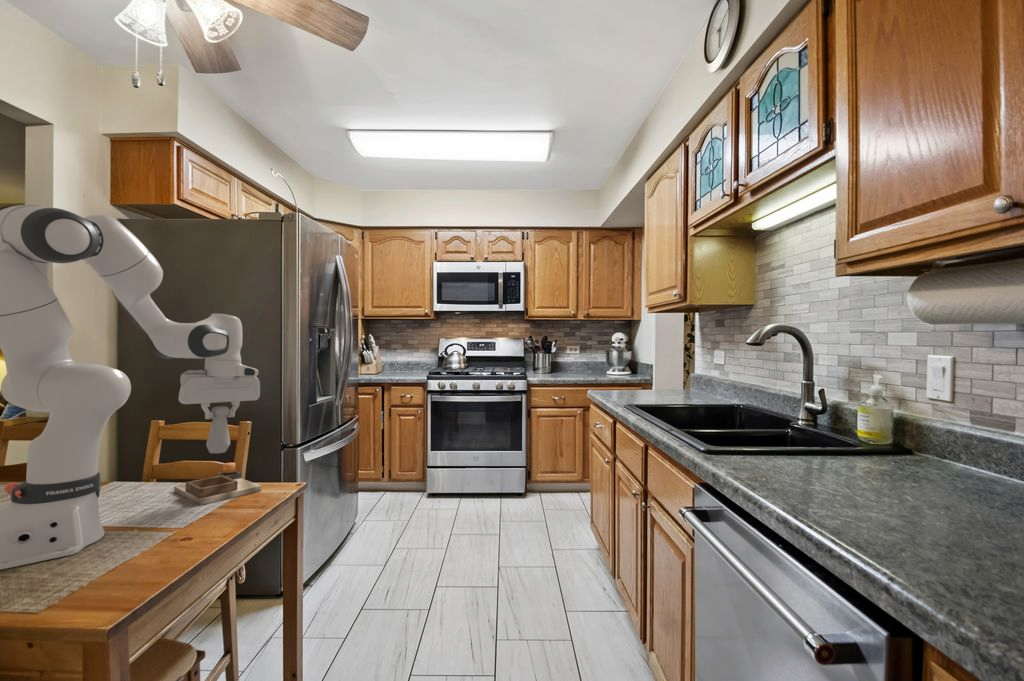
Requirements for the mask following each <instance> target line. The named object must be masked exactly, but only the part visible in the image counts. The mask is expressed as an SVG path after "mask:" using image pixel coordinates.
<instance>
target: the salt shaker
mask: <svg viewBox="0 0 1024 681" xmlns="http://www.w3.org/2000/svg"><path fill="white" fill-rule="evenodd" d="M229 411H230V408H229V407H228V406H225V405H224V406H223V405H222V406H221V405H220V406H214V407H212V408H211V412H213V413H214V414H213V419H212V421H211V426H210V430H209V433H208V437H207V438H206V439H207V440H206V443H205V445H206V448H207V451H208V453H210V454H222V453H226V452H227V450H228V449H229V447H230V446H231V440H230V432H229V427H228V425H229V424H228V419H227V418H228V417H227V415H228V414H229Z"/></svg>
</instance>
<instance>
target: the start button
mask: <svg viewBox="0 0 1024 681" xmlns="http://www.w3.org/2000/svg"><path fill="white" fill-rule="evenodd" d="M222 469H223V470H222V473H233V472H235V471H236V462H225V463H223V468H222Z"/></svg>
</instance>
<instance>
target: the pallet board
mask: <svg viewBox="0 0 1024 681" xmlns="http://www.w3.org/2000/svg"><path fill="white" fill-rule="evenodd" d="M173 488H174V489H173V490H174V492H175V493H176V494H179V495H180V496H182V497H184V498H187V499H188V500H190V501H192V502H194V503H195V504H198V505H200V506H203V505H206V504H211V503H216V502H220V501H224V500H228V499H231V498H237V497H240V496H244V495H249V494H254V493H257V492H256V491H258V492H261V491H262V485H260V484H258V483H256V482H252V481H250V480H247V479H245V478H242V472H239V471H237V470H235V472H233V473H223V472H218V473H216V476H211V477H207V478H202V479H201V478H200V479H197V480H192V481H191V480H190V481H186V482H185V484H179V485H174V486H173ZM260 490H261V491H260ZM253 492H254V493H253Z"/></svg>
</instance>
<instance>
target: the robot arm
mask: <svg viewBox="0 0 1024 681" xmlns="http://www.w3.org/2000/svg"><path fill="white" fill-rule="evenodd" d="M81 260H82V261H84V262H85V263H86V264H88V265H89V266H90V267H91V269H92V270H94V271H95V273H96V274H97V275H98V276H99V277H100V278H101V279H102V280H103V281H104V282H105V283H106V285H107V286H108V287H109V288H110V289H111V292H112V295H113V297H114V298H115V300H116V301H117V302H118V304H119V305H120V307H121V308H122V309H123V310H124V312H125V313H126V314H127V315H128V317H129V318H130V319H132V321H133V322H134V324H135V325H136V326H137V327H138V328H139V330H140V331H141V332H142V334H143V335H144V337H145V339H146V342H147V344H148V347H149V349H150V351H151V352H152V353H153V354H154V355H155V356H158V357H159V358H162V359H205V360H204V369H198V370H197V369H196V370H194V369H188V370H186V371H184V372H183V373H181V374H180V378H179V383H180V389H179V393H178V401H179V402H180V404H183V405H193V404H194V405H195V404H200V407H201V409H202V410H203V412H204V419H205V420H213V417H214V415H213V414H214V413H213V412H212V411H210V409H209V408H210V407H211V406H210V405H211V404H214V403H228V402H229V403H230V404H231V405H232V407H230V409H229V414H228V415H226V417H227V418H234V417H236V412H237V409H238V408H239V407H240V403H241V402H247V401H251V402H252V401H258V400H259V399H260V396H261V382H260V379H259V378H258V375H259V370H258V369H257V368H255V367H252V366H251V367H250V366H247V365H246V364H245V365H244V364H242V356H241V349H242V348H243V323H242V321H241V319H240V318H239V317H237V316H236V315H232V314H230V313H225V312H224V313H223V312H221V313H220V312H215V313H214V312H213V313H212V314H210V315H209V317H207V318H205V319H202V320H200V321H196V322H189V323H188V322H187V323H186V322H177V321H173V320H171V319H168V318H167V317H166V316H165V314H164V313H163V312H162V311H161V309H160V308H159V307H158V305H157V304H156V303H155V301H154V300H153V298H152V297H151V294H153V292H155V290H157V289H158V287H160V285H161V283H162V281H163V278H164V277H163V276H164V270H163V268H162V266H161V265H160V263H159V261H158V260H157V259H156V257H155V256H154V255H153V254H152V252H151V251H150V250H149V249H148V248H147V247H146V246H145V245H144V243H142V241H141V240H140V239H139V238H138V237H137V236H136V235H135V234H134V233H133V232H131V231H130V230H129V229H128V228H127V227H126V226H124V225H123V224H122V223H121V221H118V219H116V218H114V217H113V216H109V215H105V214H93V215H88V216H85V217H82V216H80V215H78V214H76V213H74V212H72V211H69V210H66V209H63V208H62V209H61V208H58V207H46V206H43V205H37V204H20V205H19V204H17V205H16V204H14V205H13V204H11V205H9V204H8V205H5V206H2V207H0V350H1V353H2V354H3V355H2V356H3V359H4V363H5V367H6V374H5V376H4V377H3V379H2V380H1V385H0V392H1V395H2V397H3V398H4V400H5V401H7V403H9V404H11V405H13V406H15V407H18V408H21V409H24V410H27V411H31V412H37V413H38V412H39V413H49V417H48V419H47V422H46V425H45V428H44V429H43V431H42V432H41V433H40V434H39V435H38V436H37V437H35V438H33V439H32V440H31V441H30V443H29V445H28V447H27V456H26V457H27V459H26V460H27V461H26V479H25V481H22V482H21V483H17V482H10V483H7V484H6V485H4V492H6V493H7V494H10V501H11V502H9V503H7V504H6V505H4V506H3V507H2V508H0V571H1V570H6V569H10V568H14V567H19V566H24V565H29V564H34V563H38V562H42V561H47V560H48V561H49V560H51V559H52V560H53V559H57V558H58V559H59V558H61V557H62V558H63V557H67V556H71V555H75V554H77V553H79V552H80V551H81V550H83V549H84V548H85V547H87V546H89V545H91V544H93V543H94V544H95V542H97V541H99V540H101V539H102V538H103V537H104V535H105V531H104V528H103V524H102V521H101V516H100V511H99V510H100V509H99V497H100V493H101V488H102V487H101V483H102V482H101V481H102V479H101V473H100V472H99V462H100V461H99V459H100V458H99V457H100V445H101V440H102V436H103V433H104V430H105V428H106V425H107V424H108V422H109V420H110V419H111V417H112V415H113V414H114V413H115V412H116V411H117V410H119V409H121V407H123V406H124V405H125V404H126V402H127V401H128V399H129V398H130V395H131V393H132V392H131V391H132V384H131V380H130V378H129V377H128V375H127V374H125V372H123V371H122V370H119V369H117V368H114V367H111V366H107V365H103V364H99V363H84V362H83V363H82V362H81V363H80V362H77V363H76V362H75V361H74V360H73V358H71V355H70V352H69V346H68V345H69V342H70V341H71V340H72V339H73V337H74V334H75V330H74V327H73V325H72V323H71V321H70V318H69V317H68V315H67V314H66V312H65V309H64V308H63V305H62V304H61V302H60V300H59V297H58V296H57V295H56V293H55V291H54V290H53V288H52V286H51V284H50V283H49V279H48V267H49V265H50V263H54V264H70V263H74V262H75V263H76V262H79V261H81ZM208 407H209V408H208Z"/></svg>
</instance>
